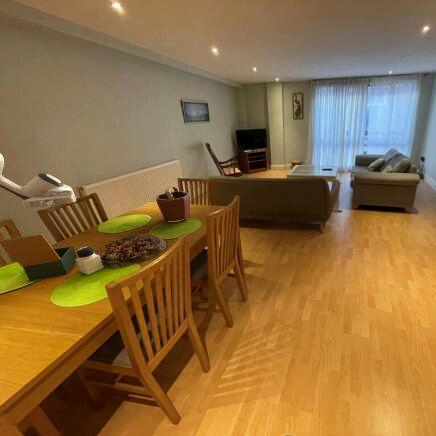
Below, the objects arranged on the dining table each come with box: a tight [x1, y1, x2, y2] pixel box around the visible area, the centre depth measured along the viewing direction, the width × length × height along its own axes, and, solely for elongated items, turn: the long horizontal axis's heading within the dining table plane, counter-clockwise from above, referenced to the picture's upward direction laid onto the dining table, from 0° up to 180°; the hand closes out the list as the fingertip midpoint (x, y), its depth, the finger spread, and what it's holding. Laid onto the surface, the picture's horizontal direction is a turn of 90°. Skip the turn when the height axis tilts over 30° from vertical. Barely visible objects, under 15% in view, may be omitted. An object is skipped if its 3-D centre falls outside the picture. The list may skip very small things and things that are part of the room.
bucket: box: [155, 185, 191, 224], centre depth 177 cm, size 24×22×25 cm
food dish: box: [94, 233, 167, 268], centre depth 135 cm, size 35×33×8 cm
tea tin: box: [22, 245, 79, 282], centre depth 119 cm, size 16×14×8 cm
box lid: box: [0, 233, 61, 268], centre depth 105 cm, size 17×14×1 cm
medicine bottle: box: [75, 246, 105, 276], centre depth 117 cm, size 7×7×12 cm
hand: (43, 205), depth 120 cm, fingers closed
